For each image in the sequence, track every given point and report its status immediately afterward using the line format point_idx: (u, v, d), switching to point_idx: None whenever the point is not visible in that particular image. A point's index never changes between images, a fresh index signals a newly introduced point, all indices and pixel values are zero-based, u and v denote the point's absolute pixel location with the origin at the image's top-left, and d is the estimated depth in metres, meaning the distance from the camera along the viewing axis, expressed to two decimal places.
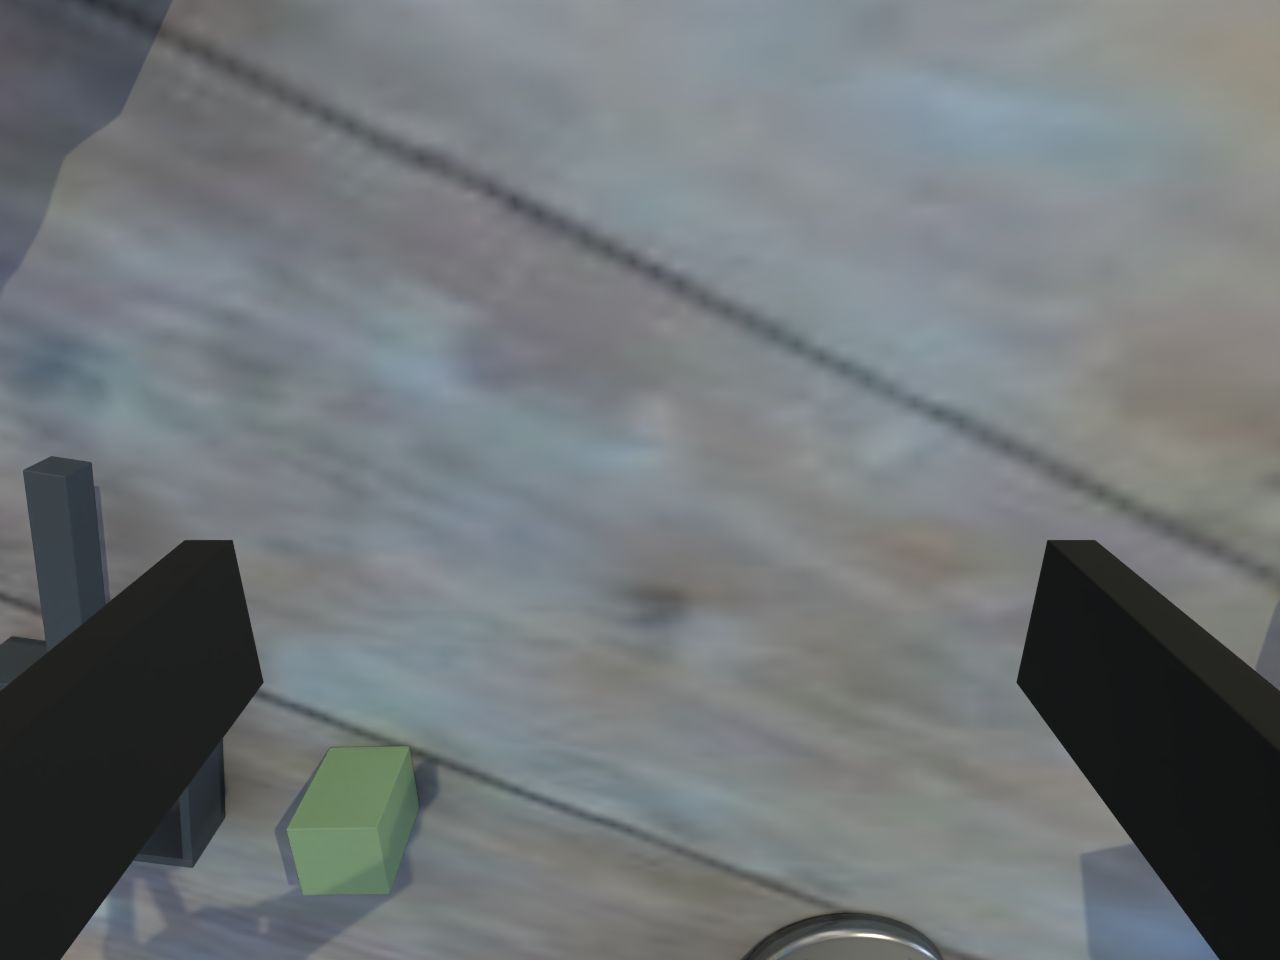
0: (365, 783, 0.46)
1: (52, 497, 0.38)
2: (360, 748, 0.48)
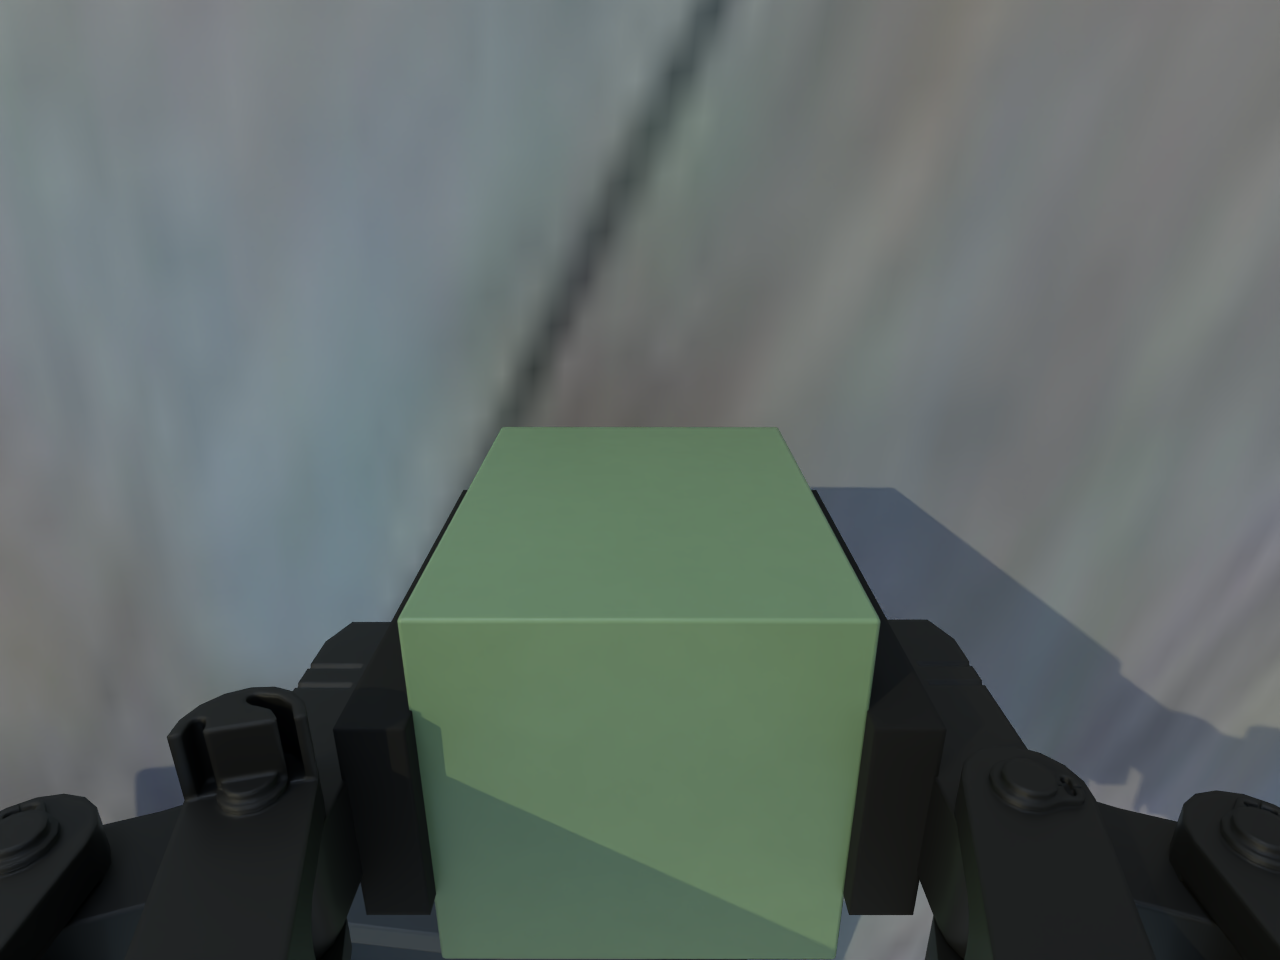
0: None
1: None
2: None
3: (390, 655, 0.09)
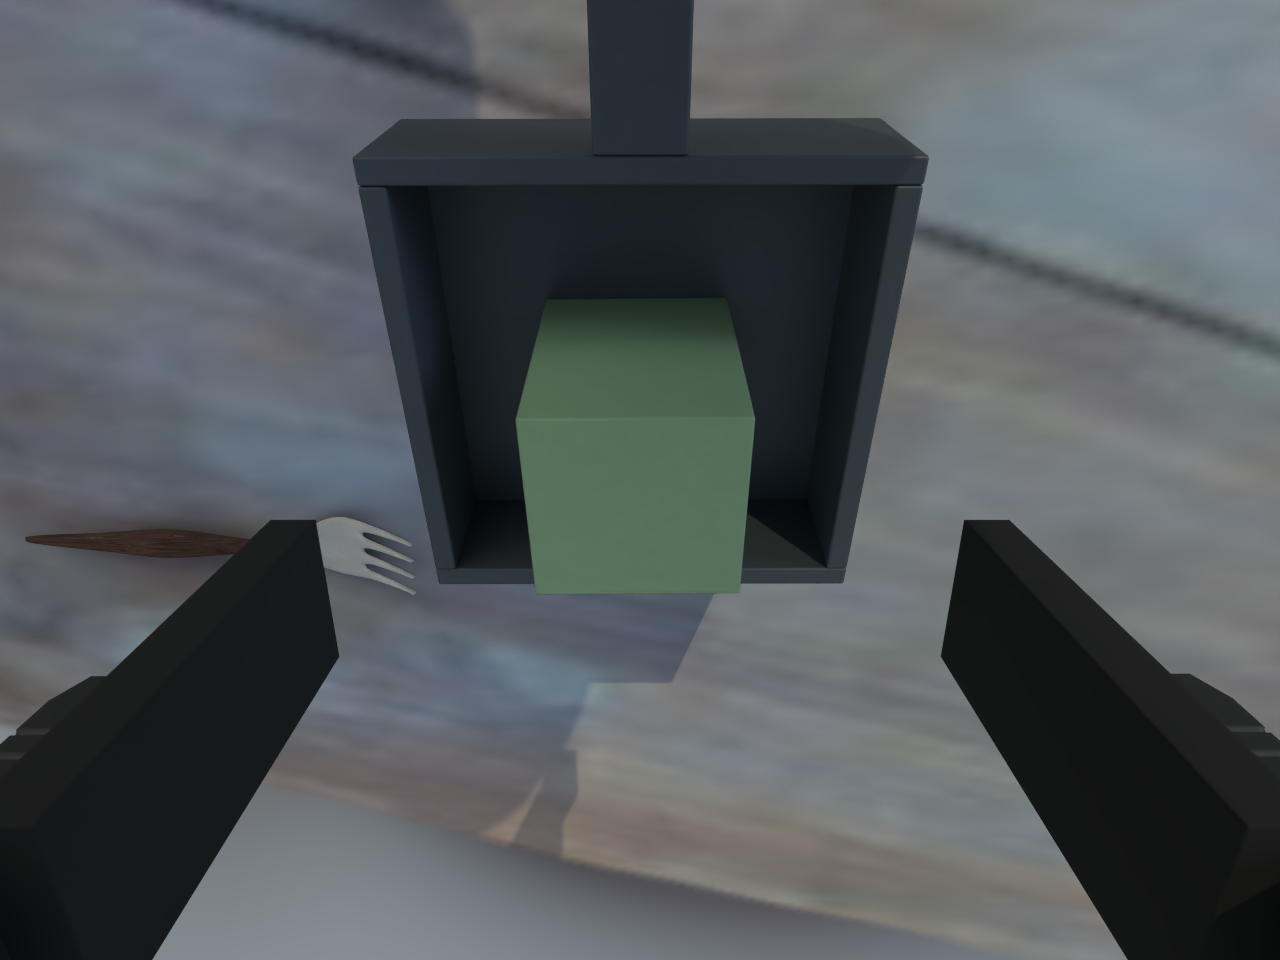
0: None
1: None
2: None
3: (74, 726, 0.08)
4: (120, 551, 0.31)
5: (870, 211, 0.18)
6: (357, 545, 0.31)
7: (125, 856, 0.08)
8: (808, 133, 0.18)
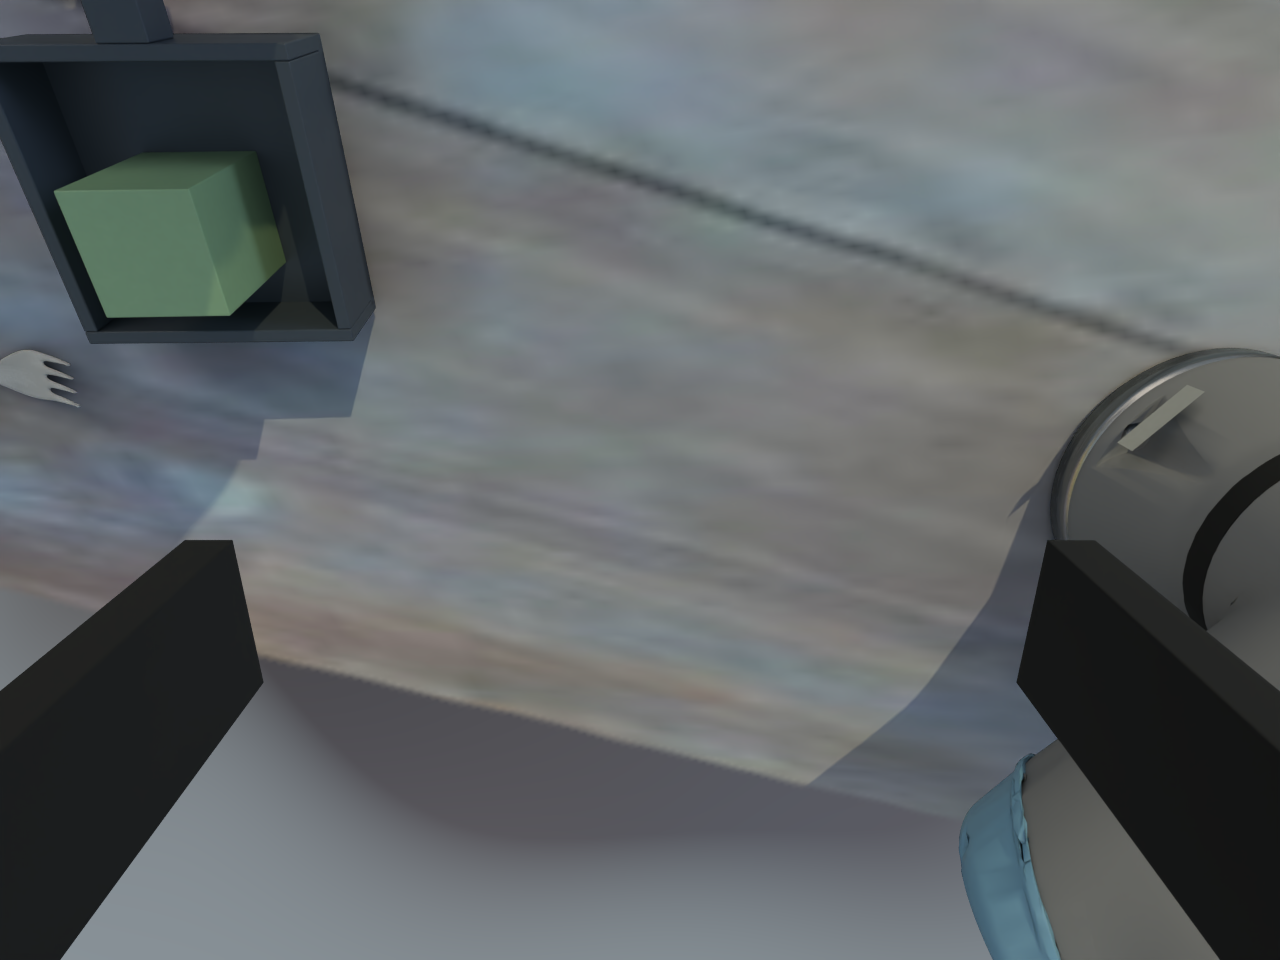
0: None
1: None
2: None
3: None
4: None
5: None
6: (40, 372, 0.40)
7: None
8: (250, 37, 0.31)
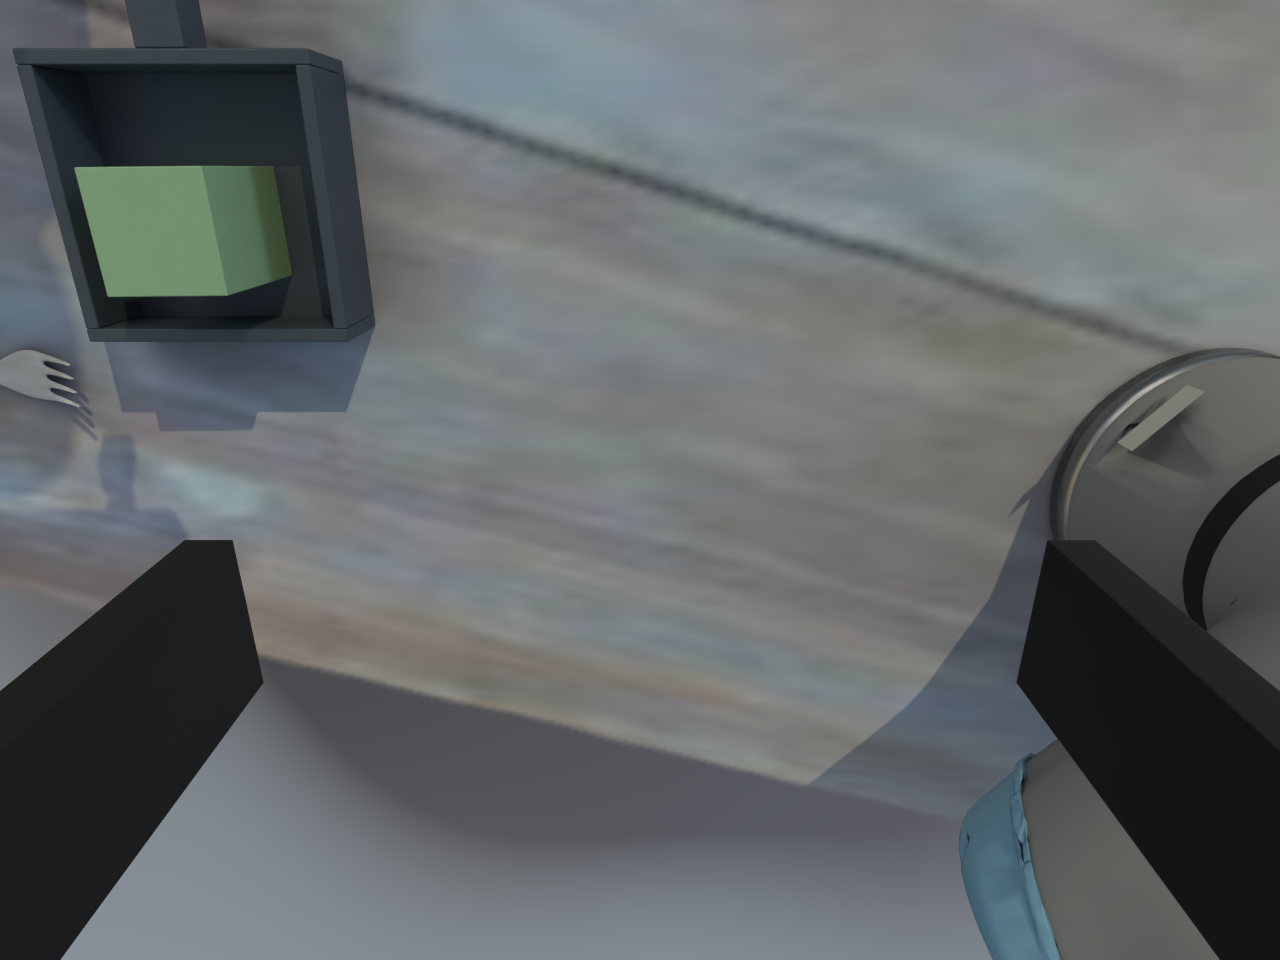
0: None
1: None
2: None
3: None
4: None
5: None
6: (40, 372, 0.40)
7: None
8: None
